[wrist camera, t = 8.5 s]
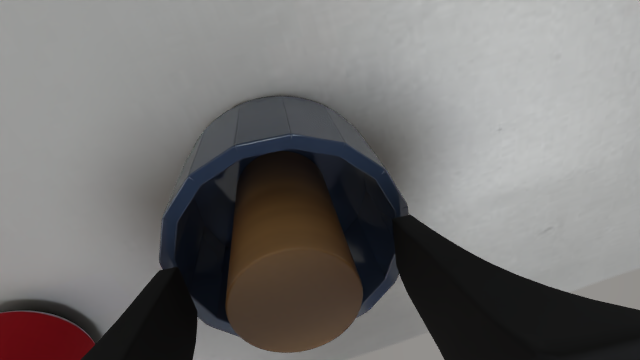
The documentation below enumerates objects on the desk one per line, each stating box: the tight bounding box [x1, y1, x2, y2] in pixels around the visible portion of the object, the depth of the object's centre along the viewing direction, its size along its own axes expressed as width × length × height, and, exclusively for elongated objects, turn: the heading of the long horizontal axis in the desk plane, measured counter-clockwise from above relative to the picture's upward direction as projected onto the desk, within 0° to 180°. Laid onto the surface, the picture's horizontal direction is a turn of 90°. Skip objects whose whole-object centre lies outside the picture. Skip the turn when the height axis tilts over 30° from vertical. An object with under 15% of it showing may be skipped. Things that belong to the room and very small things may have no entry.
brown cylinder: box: [225, 151, 363, 353], centre depth 14 cm, size 4×4×7 cm
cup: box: [159, 96, 408, 337], centre depth 15 cm, size 9×9×5 cm
